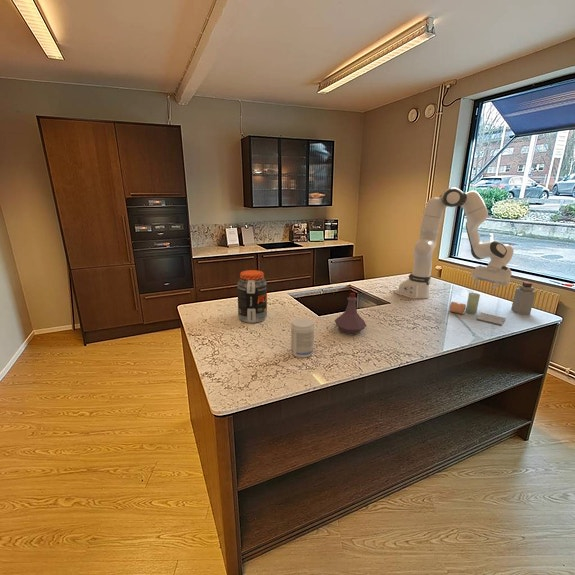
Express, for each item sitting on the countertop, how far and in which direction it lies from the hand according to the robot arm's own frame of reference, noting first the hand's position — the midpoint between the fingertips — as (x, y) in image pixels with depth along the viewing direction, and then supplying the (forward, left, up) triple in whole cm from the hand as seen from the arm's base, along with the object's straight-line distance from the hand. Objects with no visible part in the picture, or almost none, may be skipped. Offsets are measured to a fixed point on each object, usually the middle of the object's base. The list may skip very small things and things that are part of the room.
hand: (483, 286), depth 190 cm
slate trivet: (+8, -14, -14) cm, 22 cm away
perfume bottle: (+19, +12, -14) cm, 27 cm away
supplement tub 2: (-47, -115, -14) cm, 124 cm away
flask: (-43, -81, -14) cm, 92 cm away
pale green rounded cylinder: (-3, -9, -14) cm, 17 cm away
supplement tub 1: (-91, -103, -14) cm, 138 cm away
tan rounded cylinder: (-9, -18, -13) cm, 24 cm away
